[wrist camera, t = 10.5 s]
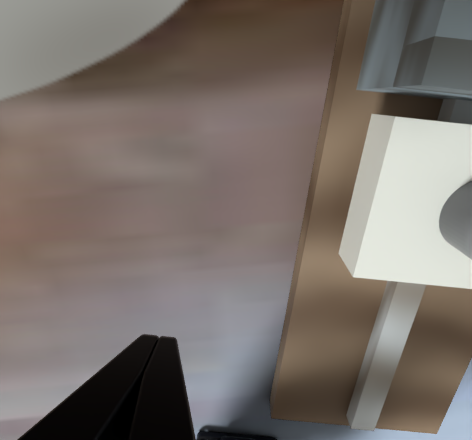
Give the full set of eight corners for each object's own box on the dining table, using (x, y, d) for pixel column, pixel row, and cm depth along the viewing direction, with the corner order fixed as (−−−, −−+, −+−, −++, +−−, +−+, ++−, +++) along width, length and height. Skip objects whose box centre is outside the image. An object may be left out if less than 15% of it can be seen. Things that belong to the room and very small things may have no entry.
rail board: (425, 414, 25) (498, 540, 18) (269, 400, 24) (279, 521, 17) (637, -80, 14) (1031, -258, 7) (364, -112, 14) (489, -327, 7)
